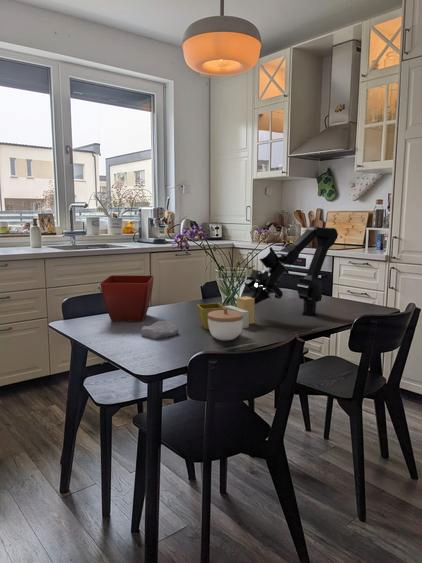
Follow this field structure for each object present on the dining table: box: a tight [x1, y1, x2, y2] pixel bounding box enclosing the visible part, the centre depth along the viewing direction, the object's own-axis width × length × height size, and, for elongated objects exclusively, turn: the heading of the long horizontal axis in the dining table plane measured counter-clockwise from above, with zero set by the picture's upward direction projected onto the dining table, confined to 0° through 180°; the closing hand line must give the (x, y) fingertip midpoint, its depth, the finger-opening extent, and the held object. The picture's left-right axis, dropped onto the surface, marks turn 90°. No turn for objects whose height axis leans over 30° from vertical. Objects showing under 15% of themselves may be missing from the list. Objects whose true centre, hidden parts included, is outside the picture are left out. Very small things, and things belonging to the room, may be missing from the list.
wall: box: [224, 305, 250, 329], centre depth 172 cm, size 3×12×6 cm, turn 32°
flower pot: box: [196, 302, 225, 330], centre depth 169 cm, size 9×9×9 cm
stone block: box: [140, 320, 179, 340], centre depth 162 cm, size 12×5×10 cm
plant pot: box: [100, 274, 154, 323], centre depth 184 cm, size 19×19×17 cm
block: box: [236, 296, 255, 325], centre depth 173 cm, size 8×5×10 cm, turn 122°
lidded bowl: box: [208, 308, 243, 341], centre depth 156 cm, size 13×13×11 cm
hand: (251, 304), depth 175 cm, fingers closed
